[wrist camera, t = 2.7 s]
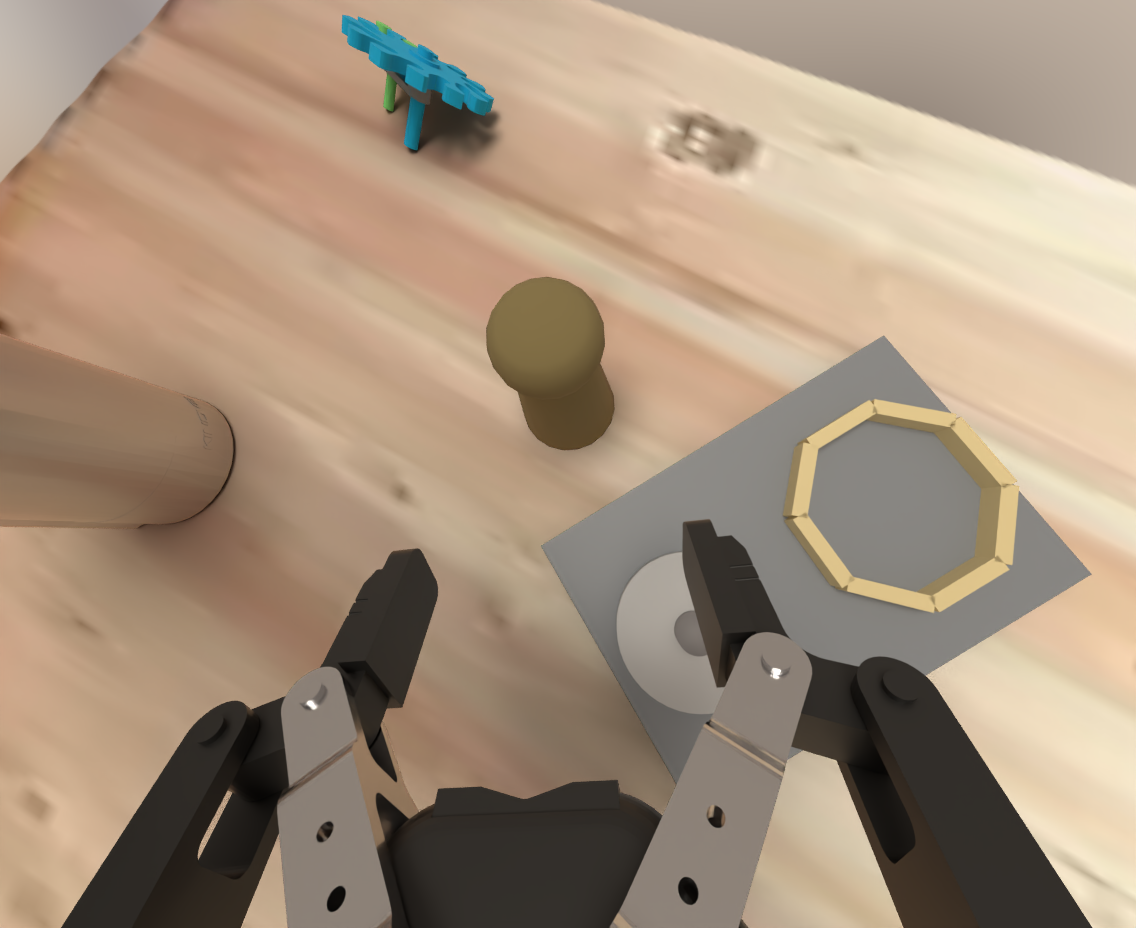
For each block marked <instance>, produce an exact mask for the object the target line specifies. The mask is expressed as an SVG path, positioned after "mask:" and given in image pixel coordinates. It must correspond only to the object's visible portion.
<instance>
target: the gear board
mask: <svg viewBox="0 0 1136 928" xmlns="http://www.w3.org/2000/svg"><path fill="white" fill-rule="evenodd" d="M1015 482H1017V480H1016V479H1015V478H1014V477H1013V475H1012V474H1011V473H1010V472H1009V471H1008V470H1007V469H1006V467H1005V466H1004V465H1003V464H1002V463H1001V462H1000V461H999V459H998V458H997V457H996V456H995V455H994V454H993V453H992V451H991V450H990V449H989V448H988V447H987V446H986V445H985V443H984V442H983V441H982V440H981V439H980V438H979V437H978V435H977V434H976V433H975V432H974V431H973V430H972V429H971V427H970V426H969V425H968V424H967V423H966V422H965V421H964V419H963V418H962V417H959V418H956V414H953V413H951V412H950V411H949V410H948V409H947V408H946V406H945V405H944V404H943V403H942V402H941V401H940V399H939V398H938V397H937V396H936V395H935V394H934V393H933V391H932V390H931V389H930V388H929V387H928V386H927V385H926V383H925V382H924V381H923V380H922V379H921V378H920V376H919V375H918V374H917V373H916V372H915V371H914V370H913V368H912V367H911V366H910V365H909V364H908V363H907V362H906V360H905V359H904V358H903V357H902V356H901V355H900V354H899V352H898V351H897V350H896V349H895V348H894V347H893V345H892V344H891V343H890V342H889V341H888V340H887V339H886V337H885V336H882V337H881V338H879V339H877V340H876V341H874V342H872V343H871V344H869V345H867V346H866V347H864V348H863V349H861V350H859V351H858V352H856V353H854V354H853V355H851V356H850V357H848V358H846V359H845V360H843V361H841V362H840V363H838V364H837V365H835V366H833V367H832V368H830V369H828V370H827V371H825V372H823V373H822V374H820V375H819V376H817V377H815V378H814V379H812V380H810V381H809V382H807V383H806V384H804V385H802V386H801V387H799V388H797V389H796V390H794V391H792V392H791V393H789V394H788V395H786V396H784V397H783V398H781V399H779V400H778V401H776V402H775V403H773V404H771V405H770V406H768V407H766V408H765V409H763V410H762V411H760V412H758V413H757V414H755V415H753V416H752V417H750V418H748V419H747V420H745V421H744V422H742V423H740V424H739V425H737V426H735V427H734V428H732V429H731V430H729V431H727V432H726V433H724V434H722V435H721V436H719V437H718V438H716V439H714V440H713V441H711V442H709V443H708V444H706V445H704V446H703V447H701V448H700V449H698V450H696V451H695V452H693V453H691V454H690V455H688V456H687V457H685V458H683V459H682V460H680V461H678V462H677V463H675V464H673V465H672V466H670V467H669V468H667V469H665V470H664V471H662V472H660V473H659V474H657V475H656V476H654V477H652V478H651V479H649V480H647V481H646V482H644V483H643V484H641V485H639V486H638V487H636V488H634V489H633V490H631V491H629V492H628V493H626V494H625V495H623V496H621V497H620V498H618V499H616V500H615V501H613V502H612V503H610V504H608V505H607V506H605V507H603V508H602V509H600V510H599V511H597V512H595V513H594V514H592V515H590V516H589V517H587V518H585V519H584V520H582V521H581V522H579V523H577V524H576V525H574V526H572V527H571V528H569V529H568V530H566V531H564V532H563V533H561V534H559V535H558V536H556V537H554V538H553V539H551V540H550V541H548V542H546V543H545V544H543V545H541V547H542V549H543V550H544V552H545V554H546V556H547V558H548V559H549V561H550V563H551V565H552V566H553V568H554V570H555V572H556V573H557V575H558V577H559V579H560V580H561V582H562V584H563V586H564V587H565V589H566V591H567V593H568V594H569V596H570V598H571V600H572V601H573V603H574V605H575V607H576V609H577V610H578V612H579V614H580V616H581V617H582V619H583V621H584V623H585V624H586V626H587V628H588V630H589V631H590V633H591V635H592V637H593V638H594V640H595V642H596V644H597V645H598V647H599V649H600V651H601V652H602V654H603V656H604V658H605V659H606V661H607V663H608V665H609V667H610V668H611V670H612V672H613V674H614V675H615V677H616V679H617V681H618V682H619V684H620V686H621V688H622V689H623V691H624V693H625V695H626V696H627V698H628V700H629V702H630V703H631V705H632V707H633V709H634V710H635V712H636V714H637V716H638V718H639V719H640V721H641V723H642V725H643V726H644V728H645V730H646V732H647V733H648V735H649V737H650V739H651V740H652V742H653V744H654V746H655V747H656V749H657V751H658V753H659V754H660V756H661V758H662V760H663V761H664V763H665V765H666V767H667V769H668V770H669V772H670V774H671V776H672V777H673V779H674V781H675V783H676V784H677V783H678V780H679V778H680V776H681V774H682V771H683V769H684V767H685V765H686V763H687V760H688V758H689V756H690V754H691V751H692V749H693V747H694V745H695V742H696V740H697V738H698V736H699V734H700V732H701V730H702V728H703V726H704V725H705V723H706V722H707V721H709V720H710V719H711V717H712V715H713V713H714V711H715V709H716V706H717V704H718V702H719V699H720V697H721V695H722V693H723V690H724V688H725V687H721V688H717V687H716V684H715V680H714V677H713V673H712V670H711V666H710V663H709V659H708V656H707V652H706V648H705V645H704V641H703V638H702V634H701V631H700V627H699V624H698V620H697V617H696V613H695V610H694V606H693V603H692V599H691V596H690V592H689V589H688V585H687V582H686V578H685V574H684V569H683V560H682V538H683V522H685V521H695V520H704V519H710V520H711V522H712V524H713V527H714V529H715V531H716V534H717V536H718V537H719V536H729V535H732V536H733V537H734V538H735V539H736V540H737V541H738V542H739V543H740V544H742V545H743V546H744V547H745V548H746V550H747V552H748V555H749V557H750V559H751V561H752V563H753V567H755V569H756V571H757V574H758V576H759V580H761V582H762V584H763V586H764V588H765V591H766V593H767V595H768V597H769V599H770V601H771V603H772V605H773V607H774V610H775V612H776V614H777V616H778V618H779V620H780V622H781V624H782V627H783V629H784V630H785V632H786V634H787V635H788V636H789V638H790V639H791V640H792V641H794V642H795V643H796V644H798V645H799V646H800V647H801V648H802V649H803V650H805V651H807V652H808V653H810V654H812V655H815V656H817V657H820V658H823V659H827V660H832V661H836V662H841V663H845V664H850V665H854V666H860V664H861V663H862V662H863V661H865V660H866V659H868V658H871V657H878V656H882V657H890V658H894V659H897V660H900V661H903V662H905V663H907V664H909V665H911V666H913V667H914V668H916V669H917V670H919V671H920V672H921V673H923V674H924V675H925V676H926V675H927V674H929V673H930V672H932V671H934V670H935V669H937V668H939V667H940V666H942V665H944V664H945V663H947V662H949V661H950V660H952V659H953V658H955V657H957V656H958V655H960V654H962V653H963V652H965V651H967V650H968V649H970V648H971V647H973V646H975V645H976V644H978V643H980V642H981V641H983V640H985V639H986V638H988V637H990V636H991V635H993V634H994V633H996V632H998V631H999V630H1001V629H1003V628H1004V627H1006V626H1008V625H1009V624H1011V623H1012V622H1014V621H1016V620H1017V619H1019V618H1021V617H1022V616H1024V615H1026V614H1027V613H1029V612H1031V611H1032V610H1034V609H1035V608H1037V607H1039V606H1040V605H1042V604H1044V603H1045V602H1047V601H1049V600H1050V599H1052V598H1053V597H1055V596H1057V595H1058V594H1060V593H1062V592H1063V591H1065V590H1067V589H1068V588H1070V587H1071V586H1073V585H1075V584H1076V583H1078V582H1080V581H1081V580H1083V579H1085V578H1086V577H1088V576H1090V575H1091V573H1090V572H1089V571H1088V569H1087V568H1086V567H1085V566H1084V565H1083V564H1082V563H1081V561H1080V560H1079V559H1078V558H1077V557H1076V556H1075V555H1074V553H1073V552H1072V551H1071V550H1070V549H1069V548H1068V547H1067V545H1066V544H1065V543H1064V542H1063V541H1062V540H1061V538H1060V537H1059V536H1058V535H1057V534H1056V533H1055V532H1054V530H1053V529H1052V528H1051V527H1050V526H1049V525H1048V524H1047V522H1046V521H1045V520H1044V519H1043V518H1042V517H1041V515H1040V514H1039V513H1038V512H1037V511H1036V510H1035V509H1034V507H1033V506H1032V505H1031V504H1030V503H1029V502H1028V501H1027V499H1026V498H1025V497H1024V496H1023V495H1022V494H1021V493H1020V491H1019V486H1016V485H1014V484H1013V483H1015ZM801 751H803V750H801V749H797V748H794V747H791V748H790V752H789V755H788V758H787V760H788V759H789V758H791V757H793V756H794V755H796V754H798V753H799V752H801Z"/></svg>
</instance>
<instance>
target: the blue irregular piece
mask: <svg viewBox="0 0 1136 928" xmlns="http://www.w3.org/2000/svg"><path fill="white" fill-rule="evenodd" d="M342 33H344V34H345V35H347V36H348V38H347V42H348V44H349V45H350V46H352V47H354V48H356V49H358V50H360V51H363V52H366V53H368V54H369V60H370V61H372V62H373V63H374V64H375V65H377V66H378V67H379V68H382V69H384V70H385V71H386V72H387V79H386V88H385V97H384V106H383V107H384V108H386V109H387V110H390V111H393V109H394V101H395V93H396V85H397V84H398V85H399V86H400V87H401V88H402V89H403V90H404V91H405V92H406V93H407V94H408V95H409V96H410V97H411V98H410V105H409V112H408V119H407V126H406V133H405V139H404V144H405V145H406V146H407V147H409V148H411V149H413V150H418V145H419V139H420V133H421V127H422V121H423V115H424V109H425V104H426V105H430V101H431V95H432V90H435V91H438V92H440V93H442V94H443V95H442V100H443V101H444V102H446V103H448V104H450V105H452V106H454V107H456V108H458V109H462V104H463V102H464V103H466V104H467V108H468V109H470V110H471V111H473V112H474V113H477V114H480V115H483V116H485V113H486V112H490V111H491V108H492V104H493V100H494V98H493V97H491V96H490V95H488V94H486V93H485V88H484V87H483V86H482V85H480V84H478V83H477V82H474V81H472V80H470V79H468V78H466V76H467V75H466V74H465V73H464V72H463V71H462V70H460V69H459V68H457V67H455V66H453V65H449V64H446V63H443V62H441V61H439V60H438V56H437V55H436V54H434V53H433V52H432V51H431V50H429V49H428V48H426V47H424V46H422V45H420V44H418V48H417V46H415V45H414V44H412V43H411V42H409V41H407V39H406V38H405V37H403V36H401V35H399V34H398V33H396V32H394V31H392V29H391V28H390V27H388V26H387V25H385V24H383V23H381V22H379V21H376V25H375V24H374V23H372V22H370V21H368V20H365V19H363V18H361V17H358V21H357V20H356V19H354V18H352V17H350V16H346V15H342Z"/></svg>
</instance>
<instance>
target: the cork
mask: <svg viewBox="0 0 1136 928" xmlns="http://www.w3.org/2000/svg"><path fill="white" fill-rule="evenodd" d="M486 338H487V351H488V354H489V357H490V360H491V362H492V365H493V368H494V369H495V370H496V372H497V373H498V374H499V375H500V376H501V378H502V379H503V380H504V381H505V383H506V384H507V385H508V386H510V387H511V388H513V389H514V390H516V391H518V394H519V398H520V401H521V405H522V408H523V412H524V416H525V418H526V421H527V424H528V427H529V429H530V430H531V431H532V433H533V434H534V435H535V436H536V437H537V439H538V440H540V441H542V442H543V443H545V444H546V445H548V446H549V447H553V448H557V449H561V450H572V449H579V448H582V447H585V446H587V445H590V444H592V443H593V442H594V441H596V440H597V439H598V438H599V437H601V436H602V435H603V434H604V432H605V431H606V429H607V428H608V426H609V425H610V423H611V420H612V416H613V412H614V395H613V393H612V390H611V388H610V386H609V383H608V381H607V378H606V376H605V374H604V371H603V369H602V366H601V364H600V362H601V358H602V355H603V351H604V347H605V338H604V323H603V320H602V318H601V316H600V313H599V311H598V309H597V307H596V305H595V303H594V302H593V300H592V299H591V298H590V297H589V296H588V295H587V294H586V293H585V292H584V291H583V290H582V289H581V288H579V287H577V286H575V285H573V284H572V283H570V282H568V281H565V280H561V279H556V278H550V277H542V278H533V279H529V280H527V281H524V282H522V283H519V284H517V285H515V286H514V287H513V288H512V289H510V290H509V291H508V292H506V293H505V294H504V295H503V296H502V298H501V299H500V300H499V302H498V303H497V305H496V306H495V308H494V309H493V311H492V312H491V315H490V319H489V322H488V325H487V328H486Z"/></svg>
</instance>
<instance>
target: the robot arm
mask: <svg viewBox="0 0 1136 928" xmlns="http://www.w3.org/2000/svg"><path fill="white" fill-rule="evenodd" d="M232 458H233V438H232V434H231V431H230V427H229V425H228V423H227V421H226V420H225V418H224V416H223V415H222V414H221V413H220V412H219V411H218V410H217V409H216V408H215V407H213V406H212V405H210V404H208V403H207V402H204V401H201V400H198V399H195V398H192V397H189V396H186V395H183V394H180V393H177V392H174V391H171V390H168V389H165V388H162V387H159V386H156V385H153V384H150V383H147V382H144V381H142V380H139V379H136V378H133V377H130V376H127V375H124V374H121V373H118V372H115V371H111V370H108V369H105V368H102V367H99V366H96V365H93V364H90V363H87V362H84V361H81V360H78V359H75V358H72V357H69V356H66V355H63V354H60V353H57V352H54V351H51V350H48V349H45V348H42V347H39V346H36V345H33V344H30V343H27V342H24V341H21V340H18V339H15V338H12V337H9V336H6V335H3V334H0V527H53V528H113V529H136V528H138V527H140V526H141V525H143V524H170V523H177V522H180V521H183V520H185V519H188V518H190V517H192V516H194V515H195V514H197V513H198V512H200V511H201V510H203V509H204V508H205V507H206V506H207V505H208V504H209V503H210V502H212V500H213V499H214V498H215V496H216V495H217V494H218V493H219V491H220V490H221V488H222V486H223V485H224V483H225V481H226V479H227V477H228V474H229V471H230V468H231V465H232ZM682 560H683V569H684V574H685V578H686V582H687V585H688V589H689V592H690V596H691V599H692V603H693V606H694V610H695V613H696V617H697V620H698V624H699V627H700V631H701V634H702V638H703V641H704V645H705V648H706V652H707V656H708V659H709V663H710V666H711V670H712V673H713V677H714V680H715V684H716V687H717V688H721V687H725V688H724V690H723V693H722V695H721V697H720V699H719V702H718V704H717V706H716V709H715V711H714V713H713V715H712V717H711V719H710V720H709V721H707V722H706V723H705V725H704V726H703V728H702V730H701V732H700V734H699V736H698V738H697V740H696V742H695V745H694V747H693V749H692V751H691V754H690V756H689V758H688V760H687V763H686V765H685V767H684V769H683V771H682V774H681V776H680V778H679V780H678V783H677V785H676V787H675V789H674V791H673V794H672V796H671V798H670V800H669V803H668V805H667V807H666V809H665V812H664V814H663V816H662V815H661V814H660V813H658V812H657V811H656V810H655V809H654V808H652V807H651V806H649V805H648V804H646V803H644V802H643V801H641V800H639V799H637V798H635V797H632V796H630V795H627V794H623V793H620V789H619V784H618V780H610V781H589V782H572V783H569V784H566V785H564V786H561V787H558V788H556V789H553V790H550V791H548V792H545V793H542V794H540V795H537V796H534V797H532V798H529V799H520V798H517V797H513V796H510V795H507V794H503V793H500V792H497V791H493V790H490V789H487V788H484V787H465V788H444V789H438V792H437V797H436V801H435V804H433V805H431V806H429V807H427V808H425V809H423V810H421V811H420V812H419V811H418V809H417V807H416V805H415V803H414V801H413V799H412V798H411V796H410V794H409V793H408V791H407V788H406V786H405V784H404V781H403V778H402V775H401V772H400V769H399V766H398V763H397V760H396V757H395V754H394V751H393V748H392V745H391V742H390V738H389V735H388V732H387V729H386V726H385V724H384V722H383V721H382V720H383V717H384V714H385V711H386V709H387V708H401V707H403V704H404V700H405V697H406V694H407V691H408V688H409V685H410V682H411V679H412V676H413V673H414V669H415V666H416V663H417V660H418V657H419V654H420V651H421V648H422V645H423V641H424V638H425V635H426V632H427V629H428V626H429V623H430V620H431V617H432V614H433V610H434V607H435V604H436V601H437V596H438V586H437V582H436V579H435V577H434V575H433V573H432V571H431V569H430V567H429V565H428V563H427V561H426V559H425V557H424V555H423V553H422V551H421V550H420V549H408V550H399V551H393V552H392V553H391V554H390V555H389V557H388V559H387V561H386V564H385V566H384V568H383V569H381V570H376V571H375V573H374V574H373V575H372V576H371V577H370V578H369V579H368V580H367V581H366V582H365V583H364V584H363V586H362V588H361V590H360V592H359V594H358V596H357V598H356V603H354V604H353V606H352V608H351V610H350V611H349V616H347V617H346V619H345V621H344V623H343V625H342V627H341V629H340V631H339V633H338V635H337V637H336V639H335V641H334V642H333V644H332V646H331V648H330V650H329V652H328V654H327V656H326V658H325V660H324V662H323V664H322V665H321V667H320V668H318V669H315V670H313V671H311V672H309V673H308V674H306V675H305V676H303V677H302V678H301V679H300V680H298V681H297V682H296V683H295V684H294V686H293V687H292V688H291V689H290V690H289V692H288V693H287V695H286V696H285V697H282V698H280V699H277V700H275V701H272V702H270V703H267V704H264V705H262V706H259V707H257V708H254V709H252V710H251V709H250V708H249V707H247V706H246V705H245V704H244V703H242V702H240V701H230V702H226V703H224V704H221V705H219V706H217V707H215V708H214V709H212V710H210V711H209V712H208V713H206V714H205V715H204V716H203V717H202V718H200V719H199V720H198V721H197V722H196V723H195V724H194V725H193V727H192V728H191V729H190V730H189V732H188V733H187V734H186V736H185V737H184V739H183V740H182V742H181V743H180V745H179V747H178V748H177V750H176V751H175V753H174V754H173V756H172V757H171V759H170V760H169V762H168V764H167V765H166V767H165V768H164V770H163V771H162V773H161V774H160V776H159V777H158V779H157V781H156V782H155V784H154V785H153V787H152V788H151V790H150V791H149V793H148V794H147V796H146V797H145V799H144V801H143V802H142V804H141V805H140V807H139V808H138V810H137V811H136V813H135V814H134V816H133V818H132V819H131V821H130V822H129V824H128V825H127V827H126V828H125V830H124V831H123V833H122V834H121V836H120V838H119V839H118V841H117V842H116V844H115V845H114V847H113V848H112V850H111V851H110V853H109V855H108V856H107V858H106V859H105V861H104V862H103V864H102V865H101V867H100V868H99V870H98V872H97V873H96V875H95V876H94V878H93V879H92V881H91V882H90V884H89V885H88V887H87V888H86V890H85V892H84V893H83V895H82V896H81V898H80V899H79V901H78V902H77V904H76V905H75V907H74V909H73V910H72V912H71V913H70V915H69V916H68V918H67V919H66V921H65V922H64V924H63V926H62V927H61V928H241V925H242V923H243V920H244V918H245V916H246V913H247V911H248V908H249V906H250V903H251V901H252V898H253V896H254V893H255V891H256V888H257V886H258V884H259V881H260V879H261V876H262V874H263V871H264V869H265V866H266V864H267V861H268V859H269V856H270V854H271V852H272V849H273V847H274V844H275V842H276V839H277V837H278V834H279V837H280V848H281V859H282V870H283V881H284V892H285V903H286V914H287V925H288V928H748V927H747V926H746V924H745V923H744V922H743V920H742V919H741V917H742V914H743V910H744V907H745V904H746V900H747V897H748V893H749V890H750V887H751V883H752V880H753V877H754V873H755V870H756V866H757V863H758V860H759V856H760V853H761V850H762V846H763V843H764V839H765V836H766V833H767V829H768V826H769V822H770V819H771V816H772V812H773V809H774V806H775V802H776V799H777V795H778V792H779V789H780V785H781V782H782V778H783V774H784V771H785V765H786V762H787V758H788V755H789V752H790V748H791V747H794V748H797V749H801V750H804V751H807V752H811V753H814V754H817V755H821V756H824V757H828V758H831V759H834V760H837V762H838V765H839V767H840V770H841V772H842V775H843V777H844V780H845V782H846V785H847V787H848V790H849V792H850V795H851V797H852V800H853V802H854V805H855V807H856V810H857V812H858V815H859V817H860V820H861V822H862V825H863V827H864V830H865V832H866V835H867V837H868V840H869V842H870V845H871V847H872V850H873V852H874V855H875V857H876V860H877V862H878V865H879V867H880V870H881V872H882V875H883V877H884V880H885V882H886V885H887V887H888V890H889V892H890V895H891V897H892V900H893V902H894V905H895V907H896V910H897V912H898V915H899V917H900V920H901V922H902V925H903V927H904V928H1092V927H1091V925H1090V923H1089V922H1088V920H1087V919H1086V917H1085V916H1084V914H1083V913H1082V911H1081V910H1080V908H1079V907H1078V905H1077V903H1076V902H1075V900H1074V899H1073V897H1072V896H1071V894H1070V893H1069V891H1068V890H1067V888H1066V887H1065V885H1064V884H1063V882H1062V880H1061V879H1060V877H1059V876H1058V874H1057V873H1056V871H1055V870H1054V868H1053V867H1052V865H1051V864H1050V862H1049V860H1048V859H1047V857H1046V856H1045V854H1044V853H1043V851H1042V850H1041V848H1040V847H1039V845H1038V844H1037V842H1036V840H1035V839H1034V837H1033V836H1032V834H1031V833H1030V831H1029V830H1028V828H1027V827H1026V825H1025V824H1024V822H1023V821H1022V819H1021V817H1020V816H1019V814H1018V813H1017V811H1016V810H1015V808H1014V807H1013V805H1012V804H1011V802H1010V801H1009V799H1008V797H1007V796H1006V794H1005V793H1004V791H1003V790H1002V788H1001V787H1000V785H999V784H998V782H997V781H996V779H995V777H994V776H993V774H992V773H991V771H990V770H989V768H988V767H987V765H986V764H985V762H984V761H983V759H982V758H981V756H980V754H979V753H978V751H977V750H976V748H975V747H974V745H973V744H972V742H971V741H970V739H969V738H968V736H967V734H966V733H965V731H964V730H963V728H962V727H961V725H960V724H959V722H958V721H957V719H956V718H955V716H954V714H953V713H952V711H951V710H950V708H949V707H948V705H947V704H946V702H945V701H944V699H943V698H942V696H941V695H940V693H939V691H938V690H937V688H936V687H935V686H934V684H933V683H932V682H931V681H930V680H929V679H928V678H927V677H926V676H925V675H924V674H923V673H921V672H920V671H919V670H917V669H916V668H914V667H913V666H911V665H909V664H907V663H905V662H903V661H900V660H897V659H894V658H890V657H882V656H878V657H871V658H868V659H866V660H865V661H863V662H862V663H861V664H860V666H854V665H850V664H845V663H841V662H836V661H832V660H827V659H823V658H820V657H817V656H815V655H812V654H810V653H808V652H807V651H805V650H803V649H802V648H801V647H800V646H799V645H798V644H796V643H795V642H794V641H792V640H791V639H790V638H789V636H788V635H787V634H786V632H785V630H784V629H783V627H782V624H781V622H780V620H779V618H778V616H777V614H776V612H775V610H774V607H773V605H772V603H771V601H770V599H769V597H768V595H767V593H766V591H765V588H764V586H763V584H762V582H761V580H759V576H758V574H757V571H756V569H755V567H753V563H752V561H751V559H750V557H749V555H748V552H747V550H746V548H745V547H744V546H743V545H742V544H740V543H739V542H738V541H737V540H736V539H735V538H734V537H733V536H732V535H729V536H719V537H718V536H717V534H716V531H715V529H714V527H713V524H712V522H711V520H710V519H704V520H695V521H685V522H683V538H682ZM228 790H229V791H230V792H232V795H231V797H230V799H229V801H228V803H227V805H226V807H225V809H224V811H223V813H222V815H221V817H220V819H219V821H218V823H217V824H216V826H215V828H214V830H213V832H212V834H211V836H210V838H209V840H208V842H207V844H206V846H205V848H204V850H203V852H202V854H201V856H200V858H199V860H198V850H199V846H200V843H201V841H202V839H203V837H204V835H205V833H206V831H207V829H208V827H209V825H210V823H211V821H212V819H213V817H214V816H215V814H216V812H217V810H218V808H219V806H220V804H221V802H222V800H223V798H224V796H225V794H226V792H227V791H228Z"/></svg>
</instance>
